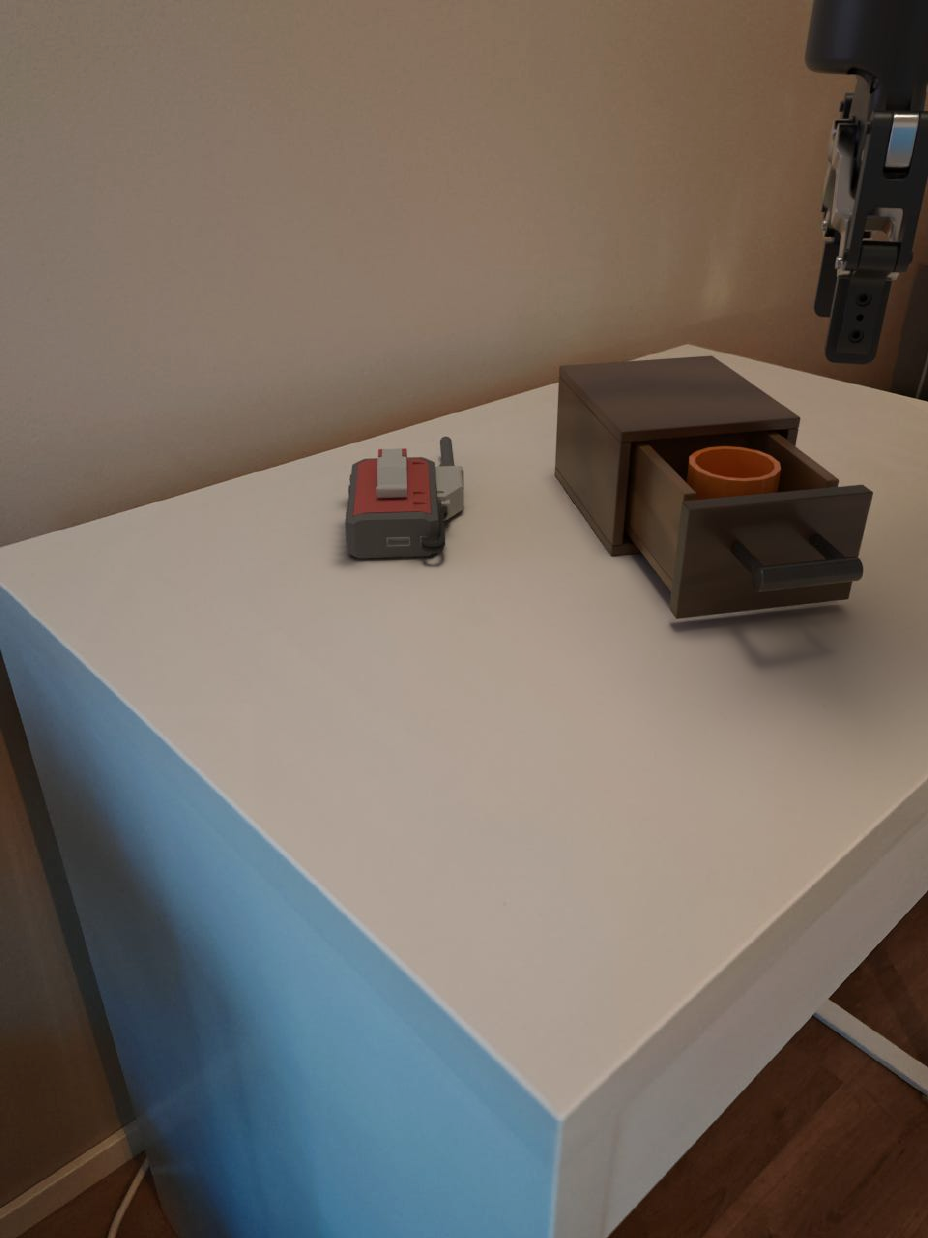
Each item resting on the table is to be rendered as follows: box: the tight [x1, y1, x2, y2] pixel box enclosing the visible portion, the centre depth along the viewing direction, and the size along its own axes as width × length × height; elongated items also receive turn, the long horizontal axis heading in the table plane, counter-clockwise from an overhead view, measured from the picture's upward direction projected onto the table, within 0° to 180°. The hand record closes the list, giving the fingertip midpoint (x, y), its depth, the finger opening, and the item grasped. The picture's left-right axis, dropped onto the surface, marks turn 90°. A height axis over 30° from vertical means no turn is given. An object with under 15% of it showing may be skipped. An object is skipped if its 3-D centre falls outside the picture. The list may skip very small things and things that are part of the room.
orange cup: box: [686, 446, 781, 500], centre depth 62 cm, size 6×6×6 cm
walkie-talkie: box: [344, 436, 465, 560], centre depth 73 cm, size 9×4×20 cm
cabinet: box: [554, 354, 801, 557], centre depth 72 cm, size 15×13×9 cm
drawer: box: [624, 430, 874, 620], centre depth 61 cm, size 18×11×7 cm, turn 11°
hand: (840, 336), depth 48 cm, fingers open, 8 cm apart
